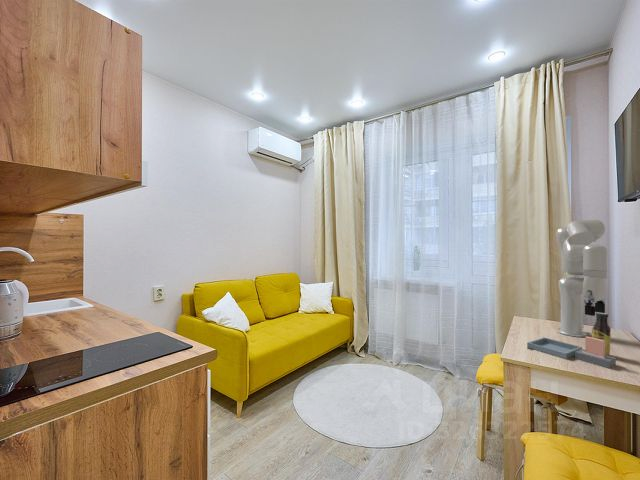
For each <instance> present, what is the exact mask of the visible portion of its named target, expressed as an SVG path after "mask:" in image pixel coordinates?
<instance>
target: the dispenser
mask: <svg viewBox="0 0 640 480" xmlns="http://www.w3.org/2000/svg"><path fill="white" fill-rule="evenodd" d="M574 360H578V361H582V362H584V363H588V364H592V365H594V366H595V365H596V366H597V367H602V368H604V369H611V368H613V367H615V366H616V365H617V364H616V363H617V358H616V357H615V356H610V355H609V356H607V355H605V357H601V356H597V355H594V354H590V353H586V352H585V348H582V349H581V350H579V351H576V352H575V356H574Z"/></svg>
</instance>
